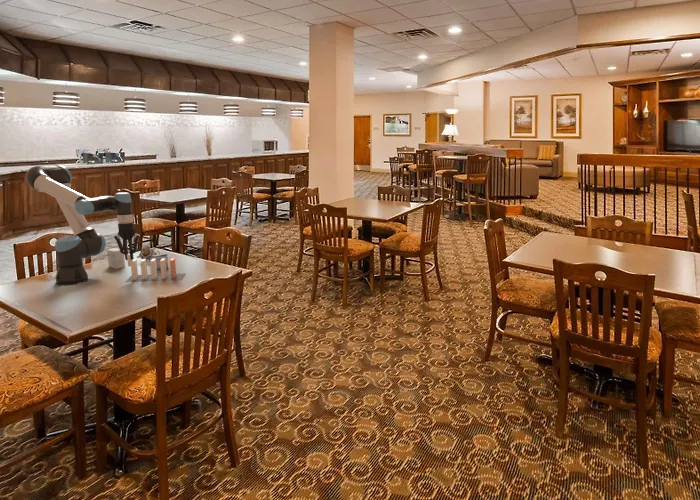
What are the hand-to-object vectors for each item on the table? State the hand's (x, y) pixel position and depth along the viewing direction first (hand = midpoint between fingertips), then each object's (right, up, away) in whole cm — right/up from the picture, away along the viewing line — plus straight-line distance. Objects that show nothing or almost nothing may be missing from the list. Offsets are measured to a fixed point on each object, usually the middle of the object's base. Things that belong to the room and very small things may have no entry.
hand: (130, 265), depth 270 cm
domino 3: (+12, -7, +4) cm, 14 cm away
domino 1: (+2, -7, +2) cm, 7 cm away
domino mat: (+13, -7, +4) cm, 15 cm away
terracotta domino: (+21, -6, +5) cm, 23 cm away
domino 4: (+17, -6, +4) cm, 18 cm away
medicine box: (+8, -3, +23) cm, 24 cm away
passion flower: (-5, +1, +40) cm, 40 cm away
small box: (-19, -2, +27) cm, 33 cm away
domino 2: (+7, -7, +3) cm, 10 cm away
